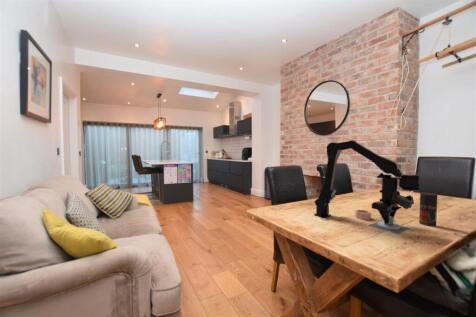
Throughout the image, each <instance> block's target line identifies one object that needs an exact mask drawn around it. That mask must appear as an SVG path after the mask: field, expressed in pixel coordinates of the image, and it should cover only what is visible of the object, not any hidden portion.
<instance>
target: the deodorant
mask: <svg viewBox="0 0 476 317" xmlns="http://www.w3.org/2000/svg"><path fill="white" fill-rule="evenodd" d="M437 213H438V194H437V193H434V192H433V193H432V192H420V193H419V217H418V218H419V219H418V222H419V224H420V225H422V226H427V227H437V218H438V217H437Z"/></svg>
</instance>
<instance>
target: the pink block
mask: <svg viewBox="0 0 476 317" xmlns="http://www.w3.org/2000/svg"><path fill="white" fill-rule="evenodd" d="M354 217H355V219H358V220H362V221H370V220H372V212H371V211H369V210H365V209H356V210H354Z"/></svg>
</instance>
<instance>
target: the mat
mask: <svg viewBox="0 0 476 317" xmlns="http://www.w3.org/2000/svg"><path fill="white" fill-rule="evenodd" d="M380 221H381V220H378V221H376V222H372V223H370V224H368V225H367V226H369V227H372V228H375V229H379V230H382V231H386V232H389V233H392V234H396V235H399V234H401V233H404V232H405V231H408V230H410V229H411V227H407V226H403V225H400V230H388V229H384V228H381V227H379V226H378V225H377V222H380Z"/></svg>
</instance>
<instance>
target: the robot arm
mask: <svg viewBox="0 0 476 317" xmlns="http://www.w3.org/2000/svg"><path fill="white" fill-rule="evenodd" d="M350 149H351V150H353V151H354V152H356V153H358V154H360V155H361V156H362V157H364V158H366V159H367V160H369V161H370V162H372V163H374V165H376V167H377V168H379V169H380V170H381V171H382V172H380V174H378V175H377V176H376V178H377V179H378V178H379V179H381V189H379V193H381V198H379V201H373V203H371V209H372V210H378V212H379V214H380V216H381V218H382V221H384V222H385V223H386V224H388V222H389V217H390V216H392V217H394V218H395V216H396V213H397V211H399V210H401V209H402V208H403V209H406V210H408V209H411V208H412V206H413V205H414V204H415V200H414V197H413V196H412V195H410V194H409V195H406V196H405V195H401V191H399V190H398V187H399V188H400V189H402V190H403V191H413V192H420V174H404V173H403V172H402V171H401V170H400V169H399V164H398V163H397V161H394V160H392V159H390V158H387V157H384V156H382V155H379V154H378V153H376V152H374V151H372V150H371V149H369V148H367V147H365V146H364V145H363V144H361V143H359V142H357V141H356V140H352V139H351V140H348V141H343V142H342V141H341V142H337V141H336V142H333V141H332V142H329V143H328V144H326V156H327V164H326V169H325V175H324V182H323V186H322V188H321V190H320V192H319V195H318V198H316V199H315V200H314V201H313V202H314V204H315V206H316V211H315V213H313V216H317V217H319V218H324V219H325V218H329V217H332V214H330V203H331V201H333V200H334V199H335V198H336V192H337V190H336V189H334V181H335V175H336V169H337V162H338V159H339V157H340V156H341V152H342V151H345V150H346V151H347V150H350ZM384 173H385V174H384Z"/></svg>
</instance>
